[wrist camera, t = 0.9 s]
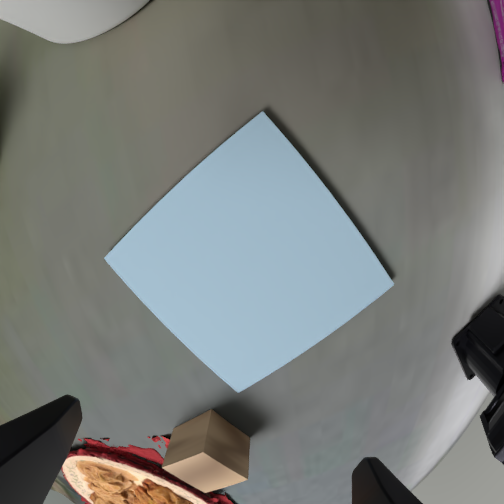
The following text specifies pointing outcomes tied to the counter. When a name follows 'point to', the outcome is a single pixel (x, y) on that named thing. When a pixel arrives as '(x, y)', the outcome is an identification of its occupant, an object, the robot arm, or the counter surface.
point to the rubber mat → (250, 258)
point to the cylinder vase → (68, 17)
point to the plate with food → (129, 477)
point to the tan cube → (208, 453)
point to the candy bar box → (498, 27)
